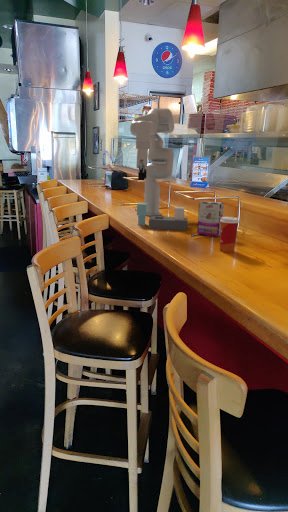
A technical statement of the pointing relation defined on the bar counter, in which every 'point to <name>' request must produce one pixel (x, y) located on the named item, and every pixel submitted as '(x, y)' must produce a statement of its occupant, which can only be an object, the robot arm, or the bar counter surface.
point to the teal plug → (141, 213)
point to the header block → (170, 221)
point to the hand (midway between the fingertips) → (142, 179)
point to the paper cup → (228, 234)
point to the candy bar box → (210, 218)
